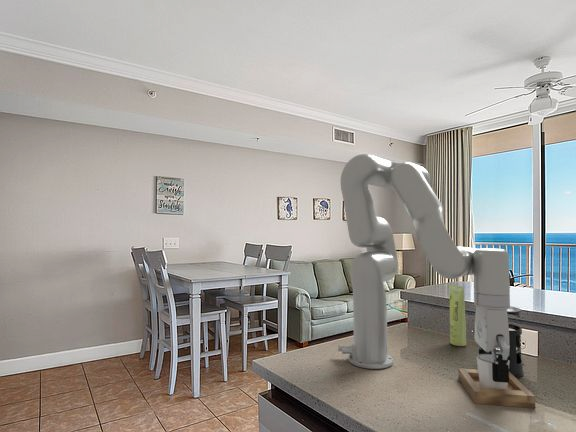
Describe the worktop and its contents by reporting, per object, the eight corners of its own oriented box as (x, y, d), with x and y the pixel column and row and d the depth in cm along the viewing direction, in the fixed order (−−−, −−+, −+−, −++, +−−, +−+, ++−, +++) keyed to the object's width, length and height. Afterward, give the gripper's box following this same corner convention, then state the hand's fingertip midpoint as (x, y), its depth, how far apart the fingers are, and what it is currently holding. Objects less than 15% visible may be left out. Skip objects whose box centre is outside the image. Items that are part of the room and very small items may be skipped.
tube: (446, 344, 124) (445, 285, 124) (450, 340, 128) (449, 283, 128) (464, 347, 120) (463, 286, 121) (468, 343, 124) (467, 285, 125)
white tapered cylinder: (496, 397, 83) (495, 365, 83) (470, 385, 89) (469, 355, 89) (517, 391, 85) (516, 360, 86) (490, 380, 92) (490, 351, 92)
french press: (534, 378, 95) (531, 288, 96) (498, 379, 95) (496, 288, 96) (505, 362, 107) (504, 281, 108) (473, 362, 107) (472, 282, 108)
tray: (474, 403, 82) (474, 391, 82) (458, 378, 96) (458, 368, 96) (535, 408, 80) (535, 396, 80) (509, 381, 93) (509, 371, 94)
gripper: (464, 293, 98) (465, 359, 97) (486, 307, 81) (488, 387, 80) (495, 294, 96) (497, 361, 96) (524, 308, 79) (526, 390, 79)
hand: (493, 373), depth 88 cm, fingers open, 9 cm apart
